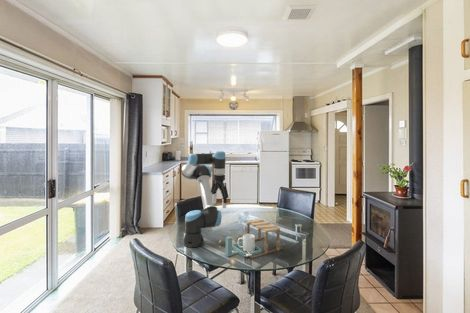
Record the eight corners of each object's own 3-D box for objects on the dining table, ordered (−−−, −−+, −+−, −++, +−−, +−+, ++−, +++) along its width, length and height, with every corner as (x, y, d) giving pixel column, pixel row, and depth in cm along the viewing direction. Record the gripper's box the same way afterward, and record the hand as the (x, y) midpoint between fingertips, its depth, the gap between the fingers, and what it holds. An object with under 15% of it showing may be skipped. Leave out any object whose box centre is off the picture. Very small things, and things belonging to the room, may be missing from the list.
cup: (255, 253, 176) (255, 238, 175) (237, 252, 176) (237, 238, 176) (254, 247, 184) (254, 233, 184) (237, 247, 185) (237, 233, 184)
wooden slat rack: (232, 245, 187) (232, 223, 186) (263, 238, 202) (263, 217, 201) (251, 258, 168) (251, 234, 166) (283, 249, 182) (284, 226, 181)
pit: (266, 240, 198) (266, 240, 198) (273, 238, 202) (273, 238, 202) (278, 247, 186) (279, 246, 186) (286, 245, 190) (286, 244, 190)
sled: (219, 250, 179) (220, 233, 178) (247, 243, 191) (247, 227, 190) (234, 261, 164) (234, 242, 163) (262, 253, 176) (263, 235, 175)
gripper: (206, 172, 184) (205, 202, 186) (223, 177, 163) (223, 211, 165) (215, 171, 188) (215, 200, 190) (234, 176, 167) (233, 209, 169)
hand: (219, 205), depth 177 cm, fingers open, 13 cm apart
